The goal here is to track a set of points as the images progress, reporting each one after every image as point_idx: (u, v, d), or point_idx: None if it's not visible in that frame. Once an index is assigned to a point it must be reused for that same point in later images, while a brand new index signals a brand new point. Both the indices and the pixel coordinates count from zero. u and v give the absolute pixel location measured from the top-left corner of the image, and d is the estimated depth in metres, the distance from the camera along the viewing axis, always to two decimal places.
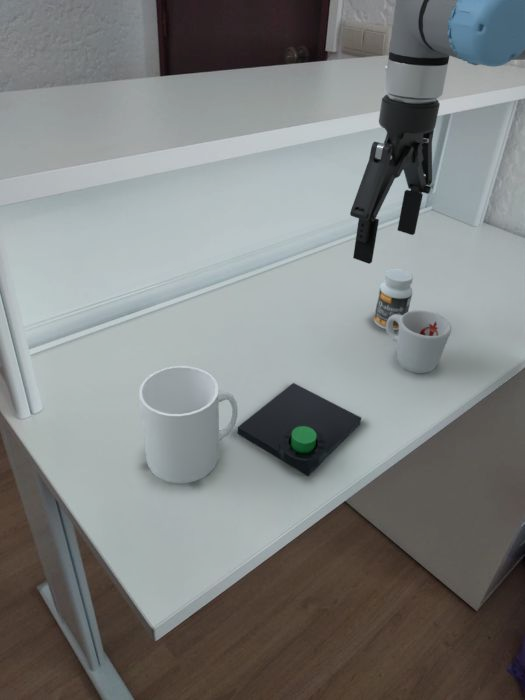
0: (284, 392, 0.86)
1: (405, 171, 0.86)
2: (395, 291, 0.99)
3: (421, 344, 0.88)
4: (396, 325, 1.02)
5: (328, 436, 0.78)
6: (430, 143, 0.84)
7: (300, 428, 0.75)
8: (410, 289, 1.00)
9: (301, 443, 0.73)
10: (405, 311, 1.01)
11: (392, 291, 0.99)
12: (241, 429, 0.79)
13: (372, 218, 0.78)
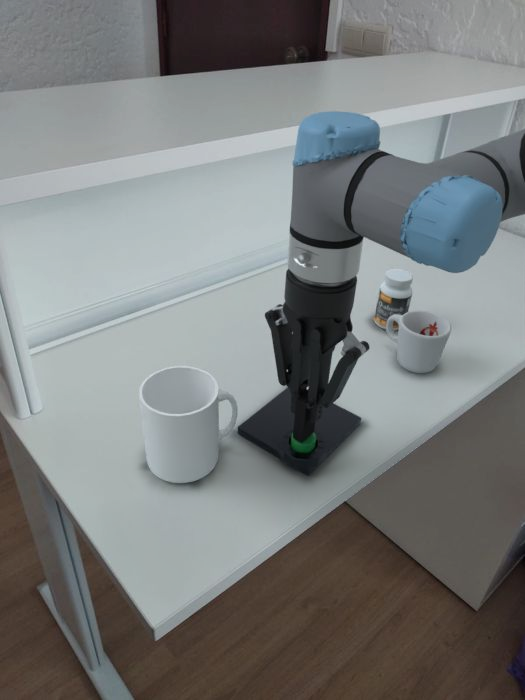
0: (284, 392, 0.86)
1: (302, 364, 0.67)
2: (395, 291, 0.99)
3: (421, 344, 0.88)
4: (396, 325, 1.02)
5: (328, 436, 0.78)
6: None
7: None
8: (410, 289, 1.00)
9: (301, 445, 0.73)
10: (405, 311, 1.01)
11: (392, 291, 0.99)
12: (241, 429, 0.79)
13: None
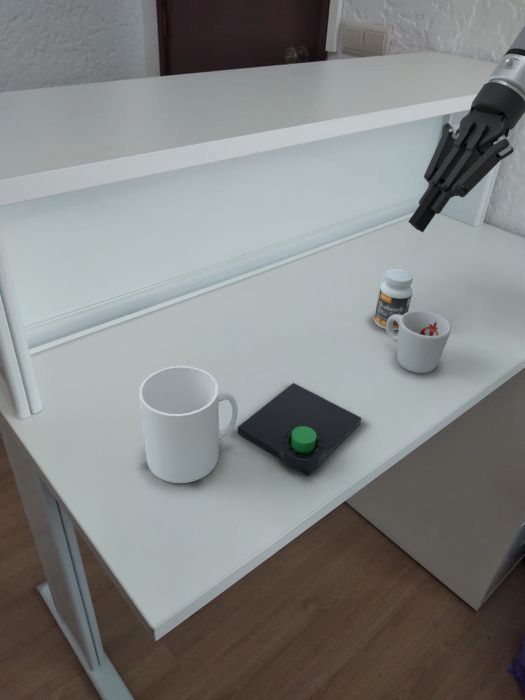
0: (284, 392, 0.86)
1: (453, 159, 0.90)
2: (395, 291, 0.99)
3: (421, 344, 0.88)
4: (396, 325, 1.02)
5: (328, 436, 0.78)
6: None
7: (300, 428, 0.75)
8: (410, 289, 1.00)
9: (301, 443, 0.73)
10: (405, 311, 1.01)
11: (392, 291, 0.99)
12: (241, 429, 0.79)
13: None
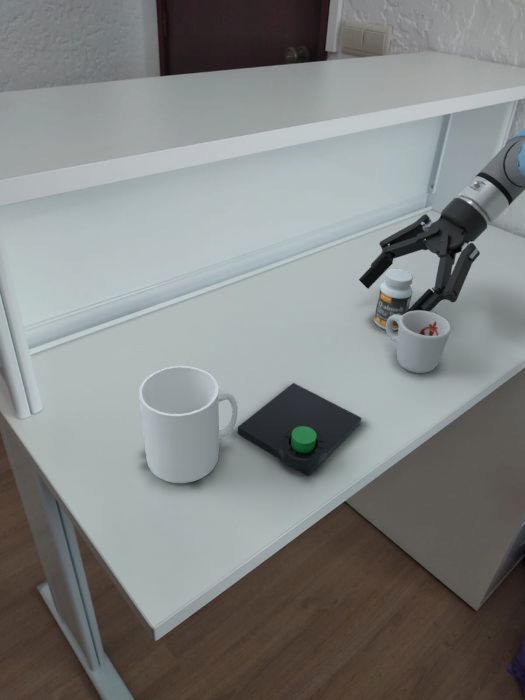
0: (284, 392, 0.86)
1: (407, 246, 1.03)
2: (395, 291, 0.99)
3: (421, 344, 0.88)
4: (396, 325, 1.02)
5: (328, 436, 0.78)
6: None
7: (300, 428, 0.75)
8: (410, 289, 1.00)
9: (301, 443, 0.73)
10: (405, 311, 1.01)
11: (392, 291, 0.99)
12: (241, 429, 0.79)
13: None
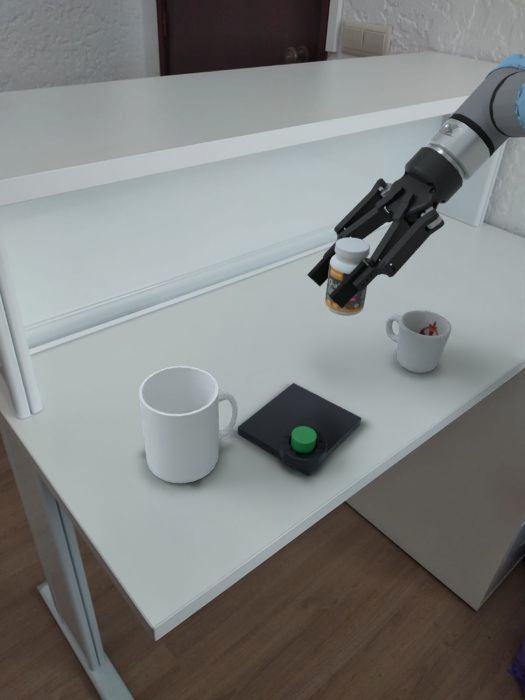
0: (284, 392, 0.86)
1: (368, 221, 0.80)
2: (348, 265, 0.78)
3: (422, 344, 0.88)
4: (351, 309, 0.81)
5: (328, 436, 0.78)
6: None
7: (300, 428, 0.75)
8: None
9: (301, 443, 0.73)
10: (361, 291, 0.80)
11: (343, 265, 0.78)
12: (241, 429, 0.79)
13: None
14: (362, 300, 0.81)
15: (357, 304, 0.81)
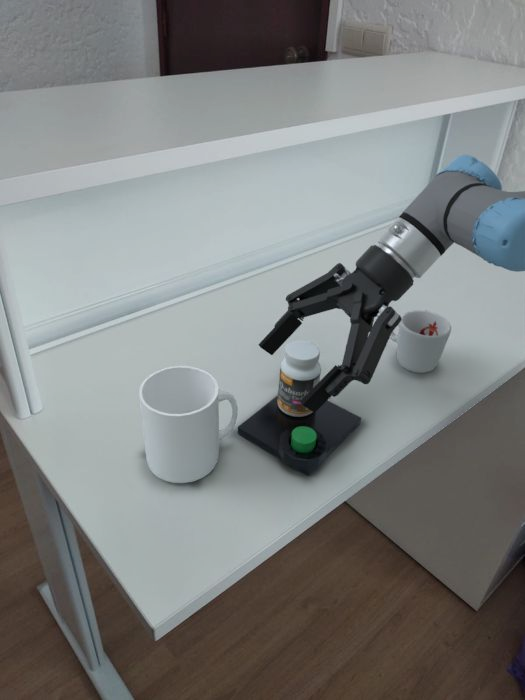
0: None
1: (316, 303, 0.80)
2: (297, 371, 0.77)
3: (422, 344, 0.88)
4: (302, 411, 0.80)
5: (328, 436, 0.78)
6: None
7: (300, 428, 0.75)
8: (317, 367, 0.78)
9: (301, 443, 0.73)
10: None
11: (293, 371, 0.77)
12: (241, 429, 0.79)
13: None
14: None
15: None
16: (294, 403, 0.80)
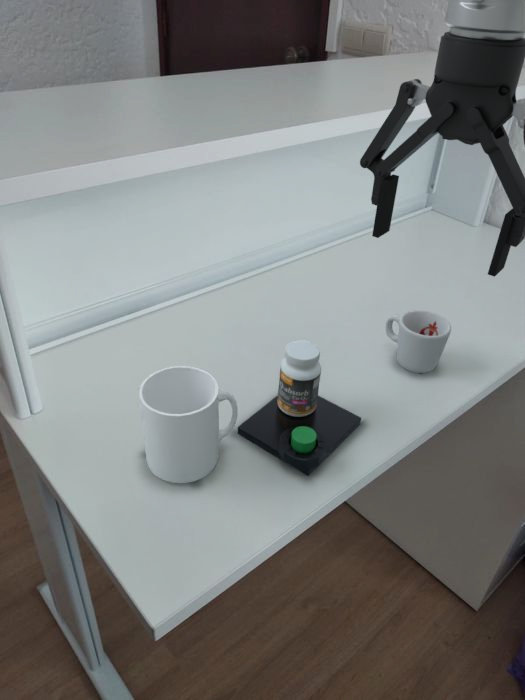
0: None
1: (411, 151, 0.59)
2: (297, 371, 0.77)
3: (422, 344, 0.88)
4: (302, 411, 0.80)
5: (328, 436, 0.78)
6: None
7: (300, 428, 0.75)
8: (317, 367, 0.78)
9: (301, 443, 0.73)
10: (312, 394, 0.79)
11: (293, 371, 0.77)
12: (241, 429, 0.79)
13: None
14: (314, 401, 0.81)
15: (308, 406, 0.80)
16: (294, 403, 0.80)
